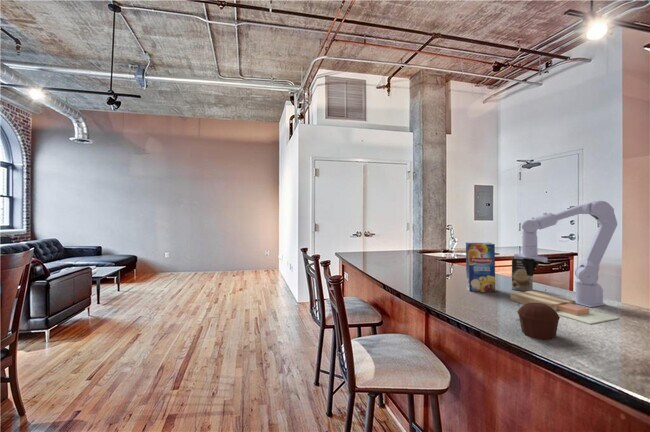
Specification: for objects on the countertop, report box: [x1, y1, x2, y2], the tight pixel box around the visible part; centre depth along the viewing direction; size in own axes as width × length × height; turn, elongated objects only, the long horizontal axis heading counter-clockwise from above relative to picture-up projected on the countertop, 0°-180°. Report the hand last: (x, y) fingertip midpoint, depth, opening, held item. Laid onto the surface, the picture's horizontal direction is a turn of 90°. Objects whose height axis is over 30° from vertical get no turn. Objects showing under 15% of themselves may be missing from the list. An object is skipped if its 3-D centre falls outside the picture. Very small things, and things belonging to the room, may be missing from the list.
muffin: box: [516, 302, 561, 341], centre depth 99 cm, size 12×11×10 cm
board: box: [510, 290, 576, 311], centre depth 131 cm, size 14×18×3 cm
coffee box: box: [511, 256, 534, 292], centre depth 156 cm, size 9×6×16 cm
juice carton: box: [465, 242, 496, 293], centre depth 156 cm, size 12×8×24 cm, turn 76°
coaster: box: [557, 303, 590, 316], centre depth 119 cm, size 7×7×2 cm
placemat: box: [556, 309, 620, 325], centre depth 116 cm, size 16×13×1 cm
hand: (530, 275), depth 140 cm, fingers closed
